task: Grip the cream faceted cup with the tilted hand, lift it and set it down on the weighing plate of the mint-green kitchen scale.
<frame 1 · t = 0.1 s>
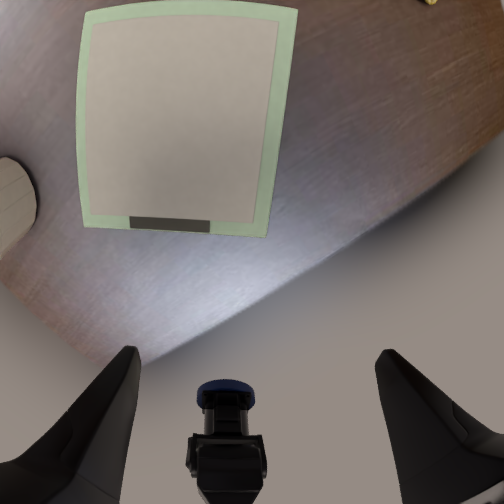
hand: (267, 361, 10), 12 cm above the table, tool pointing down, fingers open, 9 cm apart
cream faceted cup: (11, 195, 17), on the table
scale: (178, 113, 16), on the table
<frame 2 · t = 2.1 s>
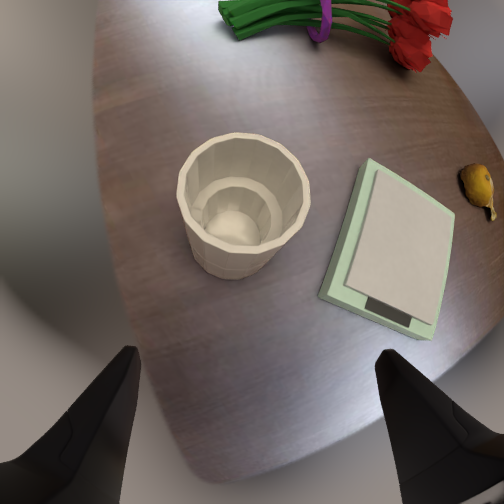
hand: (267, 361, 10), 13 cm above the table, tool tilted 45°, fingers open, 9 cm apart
fruit: (478, 195, 30), on the table
cream faceted cup: (231, 239, 24), on the table
scale: (393, 252, 26), on the table
bouquet: (325, 42, 33), on the table
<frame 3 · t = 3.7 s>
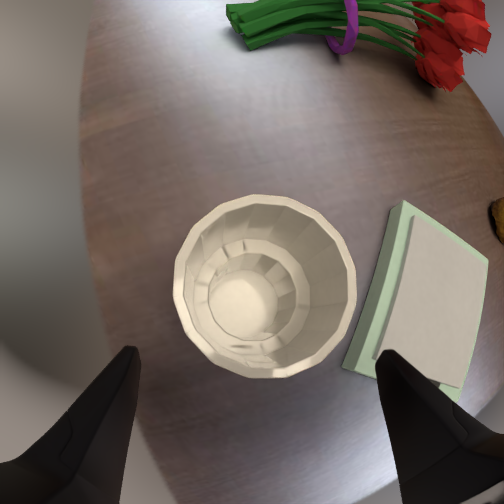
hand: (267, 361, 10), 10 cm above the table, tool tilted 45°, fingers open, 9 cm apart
cream faceted cup: (243, 304, 20), on the table
scale: (423, 308, 22), on the table
bouquet: (346, 55, 29), on the table
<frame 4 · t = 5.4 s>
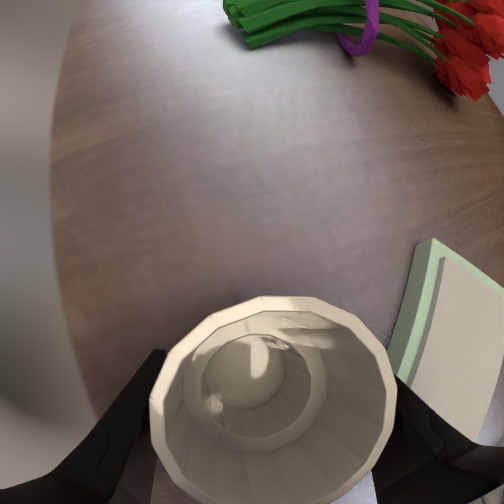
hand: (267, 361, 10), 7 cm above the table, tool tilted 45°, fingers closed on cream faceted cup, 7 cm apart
cream faceted cup: (244, 369, 16), on the table, touching gripper
scale: (445, 357, 18), on the table
bouquet: (361, 56, 25), on the table
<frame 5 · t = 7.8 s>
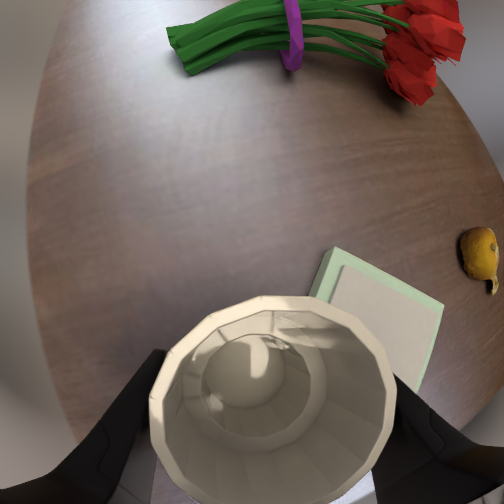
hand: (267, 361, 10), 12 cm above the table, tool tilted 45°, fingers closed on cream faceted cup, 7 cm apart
fruit: (479, 262, 26), on the table
cream faceted cup: (244, 369, 16), point 5 cm above the table, touching gripper
scale: (356, 360, 21), on the table
bouquet: (302, 69, 29), on the table
when the fingers open (10 cm above the table, at t = 10.6 s): cream faceted cup stays where it is, resting on scale.
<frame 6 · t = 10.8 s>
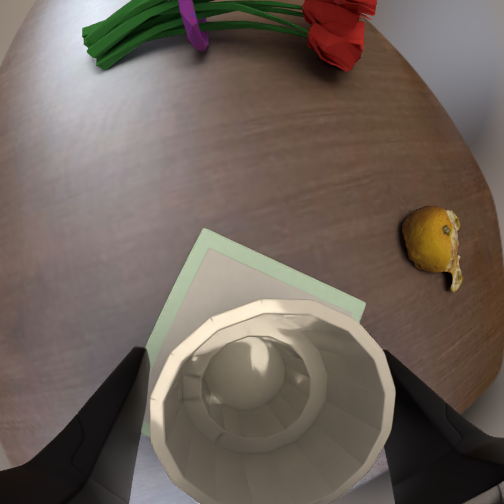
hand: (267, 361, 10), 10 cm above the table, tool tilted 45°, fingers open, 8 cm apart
fruit: (435, 251, 23), on the table
cream faceted cup: (244, 370, 16), point 3 cm above the table, touching scale
scale: (241, 364, 19), on the table
bouquet: (220, 49, 26), on the table
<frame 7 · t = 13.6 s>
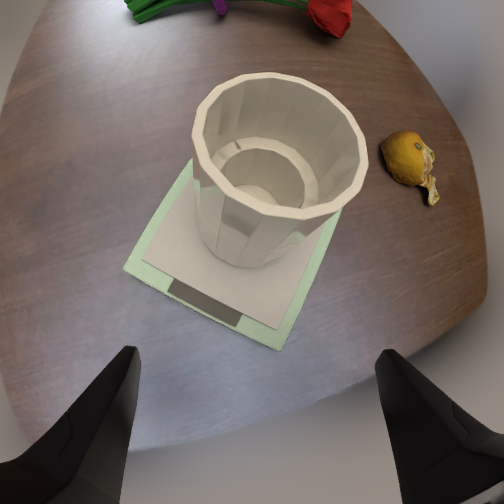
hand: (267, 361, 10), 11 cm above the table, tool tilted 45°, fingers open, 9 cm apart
fruit: (412, 173, 27), on the table
cream faceted cup: (247, 219, 20), point 3 cm above the table, touching scale
scale: (243, 230, 22), on the table
bouquet: (235, 15, 29), on the table
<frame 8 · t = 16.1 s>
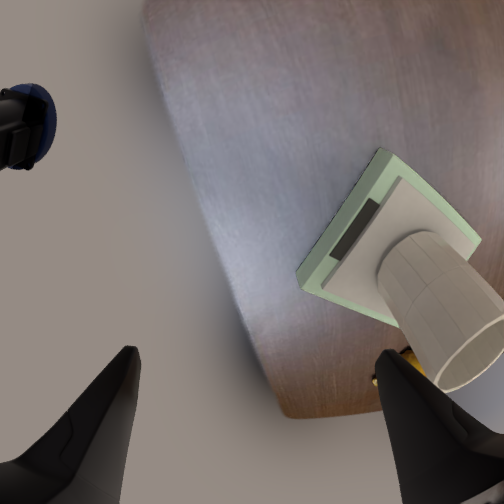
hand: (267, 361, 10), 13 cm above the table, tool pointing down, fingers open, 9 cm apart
fruit: (397, 366, 33), on the table
cream faceted cup: (410, 265, 21), point 3 cm above the table, touching scale
scale: (395, 248, 23), on the table
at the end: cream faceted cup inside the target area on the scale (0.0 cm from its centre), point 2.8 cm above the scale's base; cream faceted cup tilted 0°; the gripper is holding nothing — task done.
